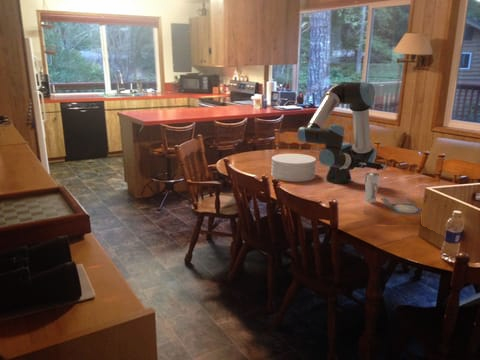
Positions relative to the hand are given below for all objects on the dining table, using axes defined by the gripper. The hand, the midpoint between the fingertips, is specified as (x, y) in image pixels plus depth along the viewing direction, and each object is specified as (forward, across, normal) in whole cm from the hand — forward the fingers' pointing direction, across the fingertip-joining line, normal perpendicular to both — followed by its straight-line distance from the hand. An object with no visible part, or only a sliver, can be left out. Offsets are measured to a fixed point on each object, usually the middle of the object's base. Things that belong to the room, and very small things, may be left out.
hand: (374, 167), depth 213 cm
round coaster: (+9, +16, -19) cm, 26 cm away
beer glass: (+4, -2, -18) cm, 19 cm away
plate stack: (+2, -64, -10) cm, 65 cm away
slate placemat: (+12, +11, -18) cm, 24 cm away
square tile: (+15, +6, -16) cm, 23 cm away
